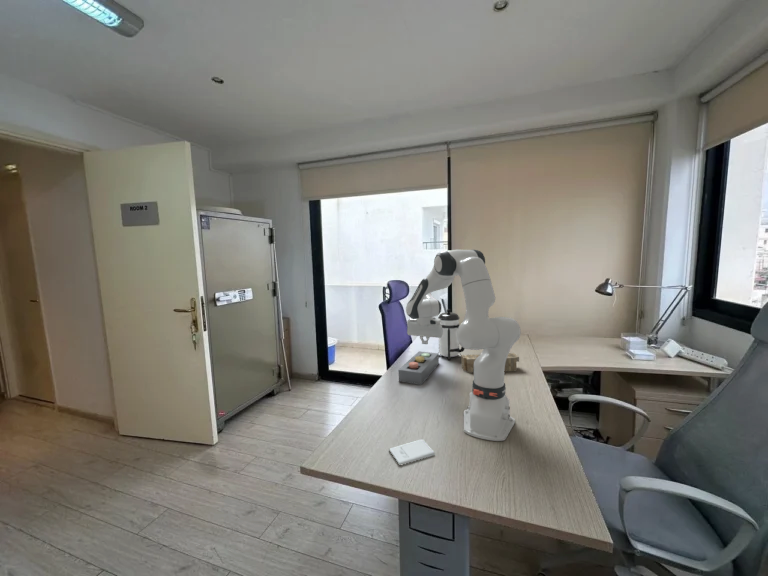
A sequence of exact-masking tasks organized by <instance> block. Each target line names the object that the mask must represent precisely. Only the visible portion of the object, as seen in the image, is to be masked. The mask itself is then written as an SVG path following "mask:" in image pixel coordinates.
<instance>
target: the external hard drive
mask: <svg viewBox="0 0 768 576" xmlns="http://www.w3.org/2000/svg"><path fill="white" fill-rule="evenodd" d="M389 451H390V452H391V453H390V452H389ZM388 452H389V453H390V455H391V454H392V455H393V456H392V455H391V456H392V457H393V459H394V458H395V459H396V461H397V462H398V464H399V465H401V464H405V463H408V464H410V463H409V462H411V463H414V462H413V461H415V462H417V461H416V460H418V461H421V460H424V459H427V458H430V457H434V456H435V454H436V453H435V451H434V450H433V448H431V447H430V445H429V444H428V443H427V442H426V441H425V440H424V439H423V438H420V439H417V440H414V441H411V442H407V443H403V444H400V445H396V446H392V447H391V448H388ZM426 457H427V458H426ZM423 458H424V459H423ZM395 459H394V460H395ZM420 459H421V460H420ZM396 461H395V462H396ZM397 462H396V463H397ZM398 464H397V465H398ZM399 465H398V466H399ZM405 465H406V464H405Z"/></svg>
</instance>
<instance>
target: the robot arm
mask: <svg viewBox="0 0 768 576" xmlns="http://www.w3.org/2000/svg"><path fill="white" fill-rule="evenodd" d="M433 260H434V261H433V266H432V270H431V271H430V272H428V273H429V274H427V275H426V276H425V277H424V278H423V279H421V281H420V282H419V283H418V286H417V287H416V290H415V291H414V293H413V295H412V297H411V298H410V300H409V301H408V302H407V303H406V307H405V310H406V314H407V316H408V317H409V319H408V320H407V323H406V324H407V325H406V326H407V328H406V334H407V335H408V336H414V337H415V336H416V337H419V339H420V341H421V344H422V345H428V344H429V342H428V341H429V340H430V338H437V339H439V338H441V337H442V336H443V329H442V325H441V324H440V322H441V320H440V319H439V318H438V317H439V315H440V314H441V312H442V303H441V302H440V301H439V300H438V298H434V297H433V295H432V293H433V292H437V291H441V290H444V289H447V288H449V286H450V285H451V284H452V283H453V281H454V280H455V277H456V276H458V277H459V278H460V283H461V286H462V293H463V296H464V299H465V314H464V317H463V320H462V322H461V323H459V327H458V330H457V340H458V342H459V346H461V347H463V348H464V350H470V351H471V350H473V351H480V350H482V352H480V354H478V355H479V356H478V357H477V358H476V359H475V361H474V369H473V380H472V385H471V388H472V391H471V392H469V393H468V394H469V395H468V396H469V405H467V408H466V409H464V410H463V432H464V433H465V434H467V435H469V436H471V437H474V438H477V439H482V440H485V441H486V440H487V441H495V442H502V441H505V440H506V439H507V437H508V436H509V434H510V433H511V432H510V431H511V430H512V428H513V427H514V425H515V423H516V419H515V418H514V417H512V416H511V409H510V408H511V405H510V402H511V401H510V399H509V398H508V396H507V395H506V389H507V387H506V382H505V372H504V371H505V362H506V359H507V356H508V354H509V353H510V351H511V350H512V348H513V346H514V345H515V344H516V343H517V342H518V340H519V339H520V337H521V334H522V333H521V332H522V331H521V326H520V324H519V322H518V321H517V320H516V319H515V318H513V317H506V316H496V317H489V310H490V308H491V307H492V306H493V305H494V304H495V302H496V294H495V291H494V288H493V287H494V286H493V284H492V283H493V282H492V279H491V276H490V273H489V271H488V268H487V266H486V257H485V255H484V253H483V252H482V251H481V250H478V249H451V250H449V249H447V250H446V249H445V250H442V251H439V252H437V254H436V255H435V257H434V259H433ZM437 316H438V317H437ZM424 337H425V338H426V339H424Z"/></svg>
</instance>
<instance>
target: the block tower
mask: <svg viewBox="0 0 768 576" xmlns="http://www.w3.org/2000/svg"><path fill="white" fill-rule="evenodd" d="M479 355H480V354H461V355H460V356H461V357H460V359H461V369H462V370H463V371H464V372H467V373H474V361H475V359H476V358H477V357H478V356H479ZM518 362H520V357H519V356H518V355H517V354H516V353H514V352H509V354H508V356H507V359H506V362H505V371H506V372H515V371H514V370H517V363H518Z"/></svg>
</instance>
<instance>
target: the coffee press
mask: <svg viewBox="0 0 768 576" xmlns="http://www.w3.org/2000/svg"><path fill="white" fill-rule="evenodd" d="M437 318H439V319H440V320H441V322H440V324H441V325H442V329H443V336H442V337H441V338H438V352H437V353H439V357H440V356H441V357H442V356H443V357H447V360H448V361H451V358H453V357H459V358H461V355H462V354H461V353H462V352H464V351H465V349H464V348H463V347H462V346H461V348H460V344H459V342H458V340H457V330H458V327H459V326H460V316H459V314H458V313H455V312H452V311H451V309H450V308H447V309H446V312H442V313H440V314H439V315H438V317H437ZM459 354H460V355H459Z"/></svg>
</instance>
